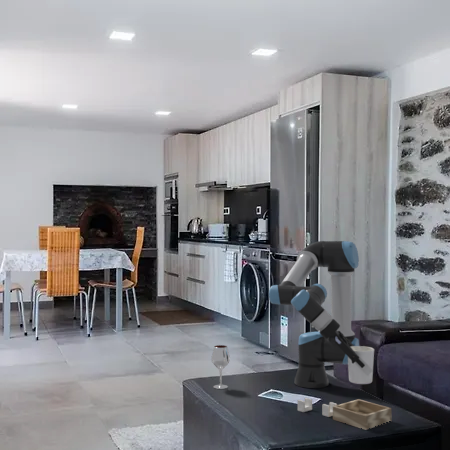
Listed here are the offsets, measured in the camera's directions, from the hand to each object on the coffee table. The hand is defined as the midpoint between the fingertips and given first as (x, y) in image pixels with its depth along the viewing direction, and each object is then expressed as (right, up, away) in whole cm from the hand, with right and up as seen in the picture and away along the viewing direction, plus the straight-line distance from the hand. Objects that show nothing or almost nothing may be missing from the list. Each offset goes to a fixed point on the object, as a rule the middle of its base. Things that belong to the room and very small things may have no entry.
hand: (369, 369), depth 224 cm
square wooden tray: (-3, -19, +1) cm, 19 cm away
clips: (-18, -19, +10) cm, 28 cm away
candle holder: (-3, -5, +1) cm, 6 cm away
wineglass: (-55, -19, +47) cm, 75 cm away
